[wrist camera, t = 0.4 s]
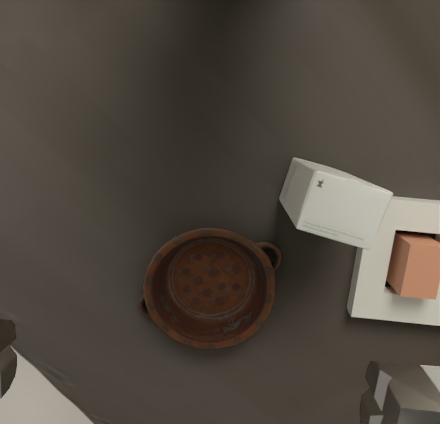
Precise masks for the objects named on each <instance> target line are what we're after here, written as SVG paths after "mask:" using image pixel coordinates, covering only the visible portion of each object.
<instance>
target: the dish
mask: <svg viewBox="0 0 440 424" xmlns="http://www.w3.org/2000/svg"><path fill="white" fill-rule="evenodd" d="M265 248H267V249H271V250H272V251H273V252H274V254H275V259H274V261H273V263H272V264H271V262H270V259H269V257H268V256H267V254H266V253H265V252H264V251H263V250H262V249H265ZM281 261H282V252H281V250H280V249H279V247H277V246H276V245H275V244H273V243H271V242H267V241H263V242H258V243H254V242H253V241H251V240H250V239H248V238H246V237H244V236H242V235H240V234H237V233H235V232H231V231H228V230H223V229H216V228H202V229H197V230H192V231H188V232H185V233H183V234H180V235H178V236H176V237H175V238H173V239H171V240H170V241H168V242H167V243H166V244H165V245H163V246H162V247H161V248H160V250H159V251H158V252H157V253H156V254H155V255H154V256H153V258H152V260H151V262H150V264H149V266H148V268H147V271H146V274H145V278H144V283H143V291H144V293H143V295H142V296H141V298H140V300H139V303H138V308H139V310H140V312H141V313H142V315H144V316H145V317H147V318H149V319H152V320H153V321H154V322H155V324H156V325H157V326H158V327H159V328H160V329H161V330H162V331H163V332H164V333H165V334H166V335H167V336H169V337H170V338H172V339H174V340H175V341H177V342H179V343H182V344H184V345H186V346H190V347H193V348H200V349H219V348H226V347H230V346H234V345H237V344H239V343H241V342H243V341H245V340H246V339H248V338H249V337H250V336H251V335H253V334H254V333H255V332H256V331H257V330H258V329H259V328H260V327H261V326H262V324H263V323H264V322H265V321H266V319H267V317H268V315H269V313H270V311H271V309H272V306H273V303H274V299H275V291H276V281H275V274H274V272H275V271H276V270H277V269H278V267H279V266H280V263H281ZM145 303H146V304H145Z"/></svg>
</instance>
